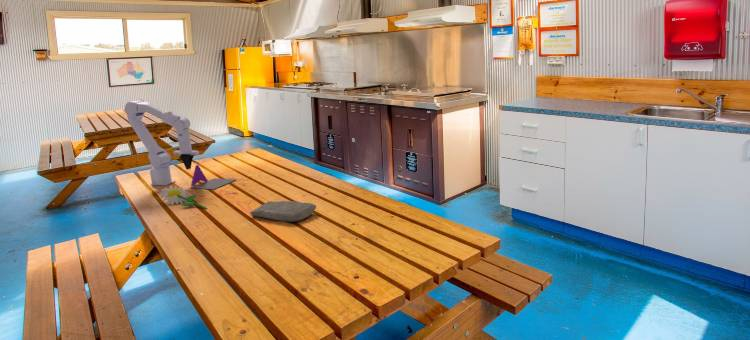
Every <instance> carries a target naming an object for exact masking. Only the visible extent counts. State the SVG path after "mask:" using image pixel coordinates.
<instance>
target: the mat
mask: <svg viewBox="0 0 750 340" xmlns="http://www.w3.org/2000/svg"><path fill="white" fill-rule="evenodd" d="M237 180H238V179H236V178H211V179H209V180H208V181H203V182H202V183H199V184H195V185H194V186H191V187H190V189H191V190H193V189H194V190H195V189H196V190H209V191H212V190H213V191H215V190H216V189H217V190H218V189H219V188H221V187H224V186H226V185H228V184H231V183H233V182H236V181H237Z"/></svg>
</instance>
